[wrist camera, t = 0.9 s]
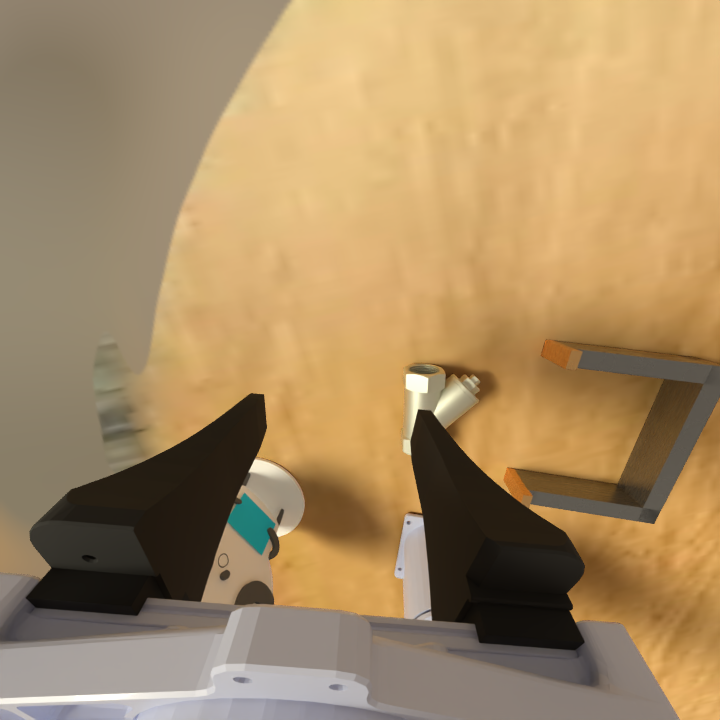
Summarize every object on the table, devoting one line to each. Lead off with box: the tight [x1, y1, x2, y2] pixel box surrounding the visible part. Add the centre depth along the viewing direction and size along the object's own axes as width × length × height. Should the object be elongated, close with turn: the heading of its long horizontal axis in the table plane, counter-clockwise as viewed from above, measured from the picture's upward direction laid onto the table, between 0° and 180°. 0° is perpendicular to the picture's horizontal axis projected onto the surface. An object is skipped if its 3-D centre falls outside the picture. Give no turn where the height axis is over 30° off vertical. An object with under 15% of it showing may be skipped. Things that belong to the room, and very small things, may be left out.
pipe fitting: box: [401, 363, 480, 455], centre depth 26 cm, size 8×4×7 cm
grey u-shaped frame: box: [504, 340, 720, 524], centre depth 25 cm, size 15×12×4 cm
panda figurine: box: [201, 457, 305, 605], centre depth 27 cm, size 12×11×15 cm
